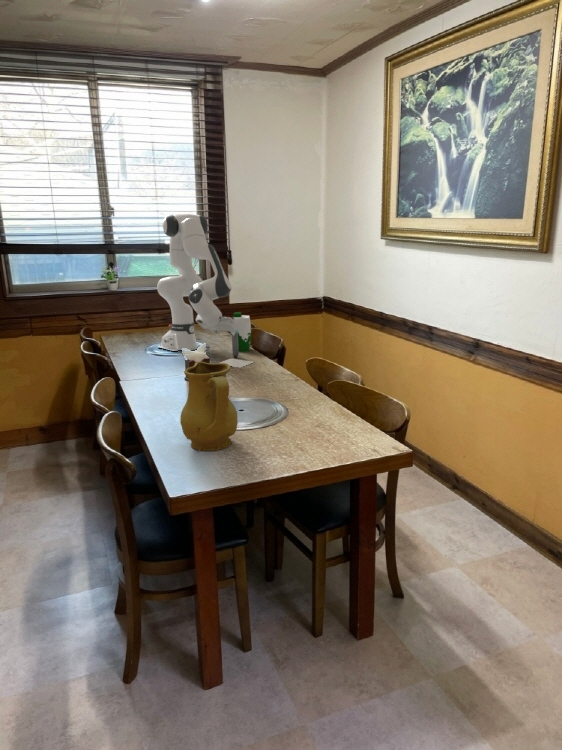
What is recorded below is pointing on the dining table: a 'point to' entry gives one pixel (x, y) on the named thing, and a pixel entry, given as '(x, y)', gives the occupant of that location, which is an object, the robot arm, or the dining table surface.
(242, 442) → the dining table surface
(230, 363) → the paper
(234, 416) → the pitcher
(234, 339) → the marker
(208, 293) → the robot arm
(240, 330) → the milk carton
